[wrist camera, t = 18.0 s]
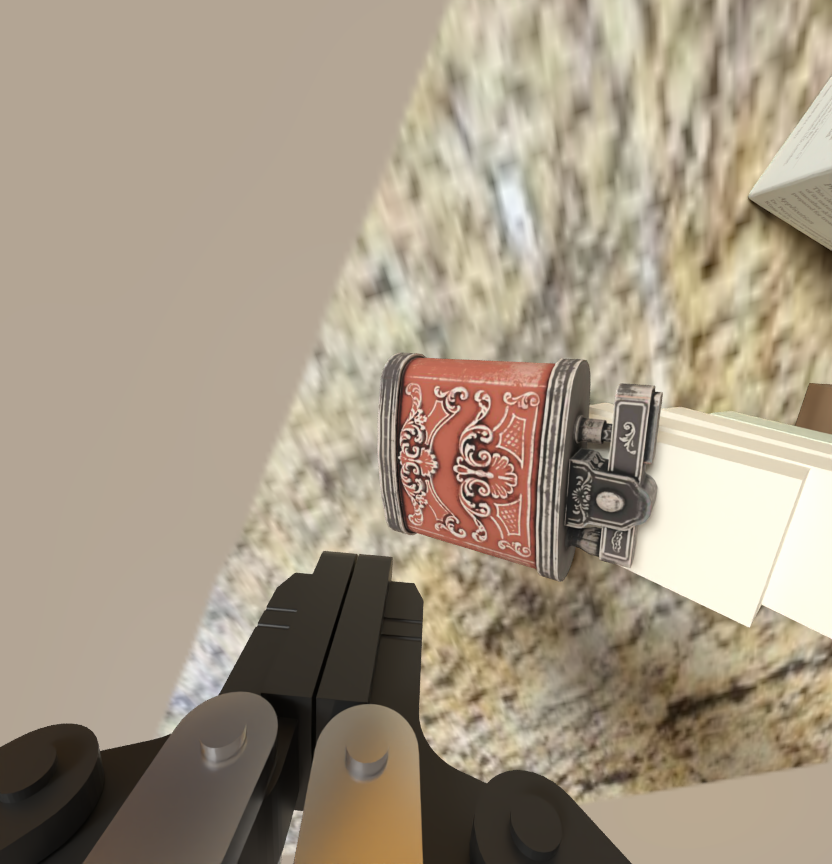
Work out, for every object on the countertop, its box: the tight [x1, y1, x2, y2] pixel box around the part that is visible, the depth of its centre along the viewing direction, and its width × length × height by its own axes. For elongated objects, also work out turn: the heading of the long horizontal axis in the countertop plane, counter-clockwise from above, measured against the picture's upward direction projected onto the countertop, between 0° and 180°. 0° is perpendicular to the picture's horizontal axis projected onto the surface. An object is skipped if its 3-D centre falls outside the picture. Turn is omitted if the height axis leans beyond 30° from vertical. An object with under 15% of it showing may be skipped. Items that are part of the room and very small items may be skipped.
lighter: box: [378, 353, 663, 581], centre depth 17 cm, size 8×3×10 cm
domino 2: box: [589, 403, 832, 639], centre depth 16 cm, size 2×5×10 cm
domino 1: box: [583, 413, 811, 628], centre depth 17 cm, size 2×5×10 cm
